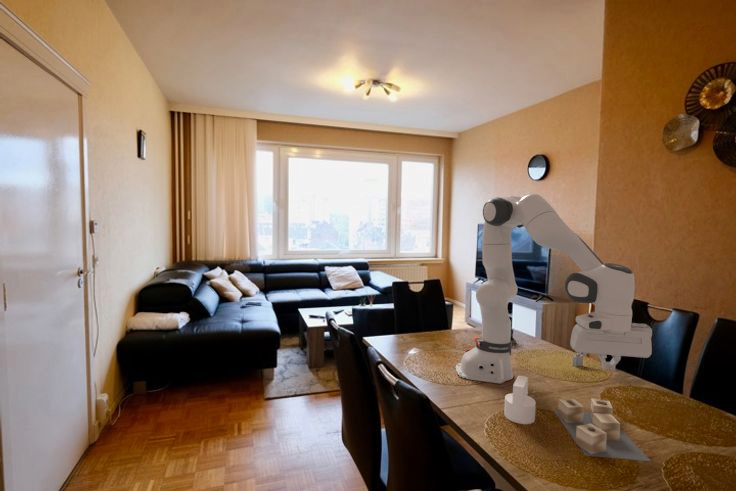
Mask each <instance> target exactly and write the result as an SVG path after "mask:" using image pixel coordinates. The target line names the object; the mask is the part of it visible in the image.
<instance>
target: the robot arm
mask: <svg viewBox="0 0 736 491" xmlns="http://www.w3.org/2000/svg"><path fill="white" fill-rule="evenodd" d="M482 217H483V220H484V223H483V226H482V227H483V228H482V238H481V239H482V240H481V241H482V242H481V243H482V246H481V248H482V251H481V253H482V254H481V255H482V265H483V267H484V269H485V272H486V278H487V281H484V282H482V283H481V284H480V285H479V286H478V287H477V289H476V292H475V299H476V301H477V303H478V305H479V309H480V314H481V337H479V336H474V337H473V341H474V342H475V347H473V348H471V349H470V350H468V351H466V352H465V353H464V354H463V355H462V357H461V362H459V363H457V364H456V365H455V368H456V370H455V373H456V372H457V373H456V375H457V374H458V375H459V376H458V375H457V376H458V377H460V378H461V377H462V378H461V379H464V378H466V380H472V381H479V382H485V383H486V382H487V383H492V384H493V383H494V384H500V385H501V384H503V383H504V382H507V381H510V380H512V379H513V378H514V374H513V373H514V372H513V369H512V362H511V361H512V360H511V355H512V351H513V350H512V346H513V345H512V344H511V341H510V338H511V328H512V321H511V319H510V316H509V315H510V314H509V310H508V307H509V306H508V305H509V303H511V302H512V301H513V300H515V297H517V294H518V288H519V287H518V285H517V283H516V277H515V273H514V267H513V257H512V256H513V252H512V248H513V246H512V245H513V244H512V231H513V229H514V228H516V227H517V228H519V229H521V228H523V227H524V229H525V231H526V232H527V234H528V235H529V237H530V238H531V239H532V240H533V241H534V242H535V243H536V244H537V245H538V246H541V247H542V248H546V249H550V250H555V251H556V252H560V253H563V254H564V255H566V256H568V257H569V258H570V259H572V261H573V262H574V263H575V264H576V265H577V267H579V269H580V270H581V271H576V272H573V273H570V274H569V275H568V276H567V277H566V279H565V281H564V291H565V293H566V294H565V295H566V296H567V297H568V299H569V300H570V301H572V302H574V303H577V304H581V305H582V304H585V305H586V304H592V305H593V306H594V311H591V312H589V313H585V314H579V315H577V316H576V317H575V322H576V324H575V325H574V326H573V327H572V331H571V336H570V342H569V344H570V347H571V349H572V350H574V352H575V353H587V354H595V355H597V356H598V358H599V360H600V362H601V365H600V366H601V369H603V370H609V371H610V370H611V371H616V365H618V364H619V362H620V361H621V360H622V359H621V358H622V357H633V358H634V357H635V358H645V359H647V358H650V357H651V355H652V352H653V351H652V350H653V348H652V338H653V337H652V336H653V330H652V328H651V326H649V325H648V324H646V323H635V322H632V321H633V320H632V318H633V309H632V305H633V302H634V299H635V288H636V286H635V285H636V283H635V282H636V281H635V280H636V279H635V275H634V272H633V270H632V269H631V268H629V267H628V266H625V265H622V264H618V263H613V262H612V263H611V262H609V263H608V262H607V263H606V262H605V263H604V262H603V261H602V260H601V259H600V258H599V256H598V255H597V254H596V253H595V252H594V251H593V250H592V249H591V248H590V247H589V246H588V244H587V243H586V242H585V241H584V240H583V239H582V238H581V237H580V236H579V235H578V234H577V233H575V231H574V230H572V229H571V228H570V227H569V226H568V225H567V224H566V222H565V221H564V220H563V219H562V218H561V217H560V215H559V214H558V213H557V211H556V210H555V208H553V206H552V205H551V204H550V203H549V202H548V201H547V199H545V198H544V197H543V196H541V195H540V194H538V193H530V194H526V195H524V196H522V197H521V196H513V195H511V196H503V197H501V196H500V197H499V196H497V197H493V198H490V199H487V201H485V203H484V205H483V208H482ZM607 355H609V356H611V357H612V358H611V360H610V361H606V359H607V358H608V357H607Z"/></svg>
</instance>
